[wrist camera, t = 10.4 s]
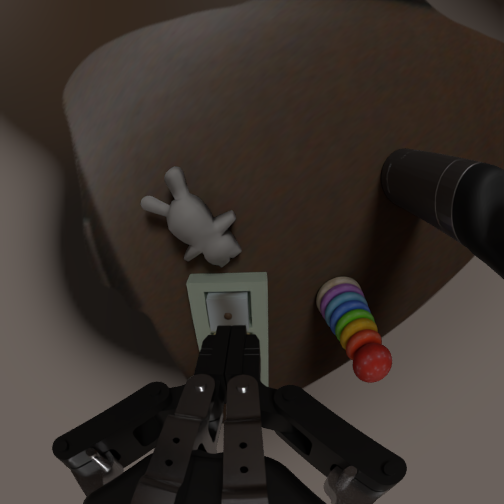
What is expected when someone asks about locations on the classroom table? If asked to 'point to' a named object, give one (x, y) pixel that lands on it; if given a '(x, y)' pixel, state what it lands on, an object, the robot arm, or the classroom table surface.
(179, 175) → the bunny figurine
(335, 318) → the stacking toy
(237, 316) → the grey block
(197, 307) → the number board
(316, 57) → the classroom table surface
